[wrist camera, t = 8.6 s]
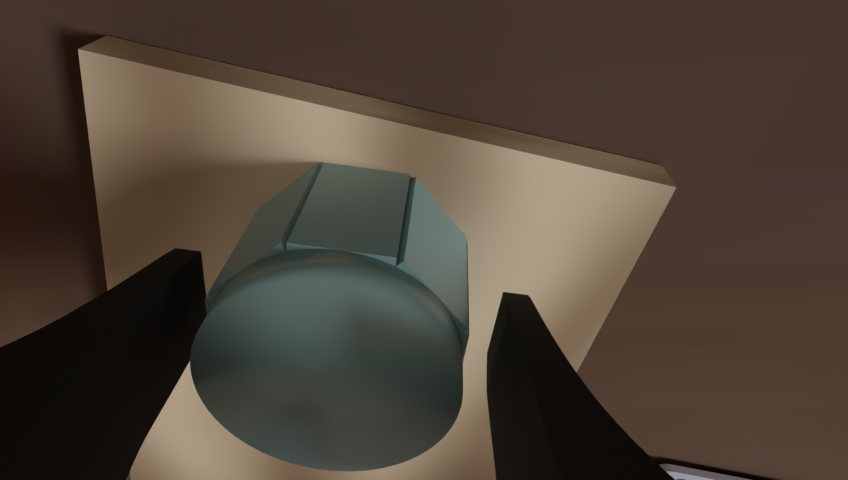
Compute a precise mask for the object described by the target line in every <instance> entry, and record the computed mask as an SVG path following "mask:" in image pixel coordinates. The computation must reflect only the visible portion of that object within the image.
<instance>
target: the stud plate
mask: <svg viewBox="0 0 848 480" xmlns="http://www.w3.org/2000/svg"><path fill="white" fill-rule="evenodd" d="M78 54H79V62H80V70H81V78H82V87H83V95H84V103H85V111H86V119H87V127H88V136H89V144H90V152H91V160H92V168H93V176H94V185H95V193H96V201H97V209H98V217H99V225H100V233H101V242H102V250H103V258H104V266H105V274H106V282H107V291H108V290H110V289H111V288H113V287H115V286H116V285H118V284H119V283H121V282H122V281H124V280H126V279H127V278H129V277H130V276H132V275H133V274H135V273H137V272H138V271H140V270H141V269H143V268H144V267H146V266H147V265H149V264H150V263H152V262H153V261H155V260H157V259H158V258H160V257H161V256H163V255H164V254H166V253H168V252H169V251H171V250H173V249H174V248H179V249H187V250H194V251H201V255H202V264H203V273H204V281H205V290H206V297H207V295H208V292H209V290H210V289H211V287H212V285H213V284H214V282H215V280H216V279H217V277H218V275H219V274H220V272H221V270H222V269H223V267H224V265H225V264H226V262H227V260H228V258H229V257H230V255H231V253H232V252H233V250H234V248H235V247H236V245H237V243H238V242H239V240H240V238H241V237H242V235H243V233H244V232H245V230H246V228H247V227H248V225H249V223H250V222H251V220H252V218H253V217H254V215H255V213H256V211H257V210H258V208H259V207H260V206H262V205H263V204H264V203H266V202H267V201H268V200H270V199H271V198H272V197H274V196H275V195H277V194H278V193H279V192H281V191H282V190H283V189H285V188H286V187H287V186H289V185H290V184H291V183H293V182H294V181H295V180H297V179H298V178H299V177H301V176H302V175H303V174H305V173H306V172H307V171H309V170H310V169H311V168H313V167H314V166H315V165H317V164H318V165H319V166H320V167H321V168H322V166H323V163H324V162H326V163H333V164H340V165H347V166H354V167H362V168H369V169H376V170H383V171H390V172H397V173H404V174H410V180H409V182H410V181H412V180H413V179H415V178H417V179H418V180H419V181H420V183H421V184H422V185H423V186H424V187H425V188H426V190H427V191H428V192H429V193H430V194H431V196H432V197H433V198H434V199H435V200H436V201H437V203H438V204H439V205H440V206H441V207H442V208H443V210H444V211H445V212H446V213H447V214H448V216H449V217H450V218H451V219H452V220H453V221H454V223H455V224H456V225H457V226H458V227H459V228H460V230H461V231H462V232H463V233H464V234H465V235H466V241H468V284H469V334H470V335H469V339H468V343H467V347H466V352H465V356H464V360H463V398H462V405H461V409H460V411H459V414H458V417H457V419H456V421H455V423H454V424H453V426H452V428H451V429H450V430H449V432H448V433H447V434H446V435H445V436H444V438H442V439H441V440H440V441H439V442H438V443H437V444H436V445H435V446H433V447H432V448H430V449H429V450H427V451H426V452H424V453H423V454H421V455H419V456H417V457H415V458H413V459H411V460H408V461H405V462H403V463H400V464H397V465H393V466H389V467H386V468H380V469H374V470H367V471H328V470H320V469H314V468H308V467H304V466H300V465H295V464H292V463H289V462H286V461H282V460H279V459H277V458H274V457H272V456H269V455H267V454H265V453H262V452H261V451H259V450H257V449H255V448H253V447H251V446H249V445H248V444H246V443H244V442H243V441H241V440H240V439H238V438H237V437H235V436H234V435H233V434H232V433H230V432H229V431H228V430H227V429H225V428H224V427H223V426H222V425H221V424H220V423H219V422H218V421H217V420H216V419H215V418H214V417H213V416H212V414H211V413H210V412H209V411H208V409H207V408H206V407H205V405H204V404H203V402H202V400H201V399H200V397H199V395H198V393H197V391H196V388H195V386H194V383H193V379H192V375H191V370H190V361H189V363H188V365H187V367H186V369H185V370H184V372H183V374H182V376H181V377H180V379H179V381H178V383H177V384H176V386H175V388H174V389H173V391H172V393H171V395H170V396H169V398H168V400H167V402H166V403H165V405H164V407H163V408H162V410H161V412H160V414H159V415H158V417H157V419H156V420H155V422H154V424H153V426H152V427H151V429H150V431H149V433H148V434H147V436H146V438H145V440H144V442H143V444H142V446H141V448H140V450H139V452H138V454H137V456H136V458H135V461H134V463H133V465H132V467H131V470H130V478H131V480H496V473H495V464H494V455H493V446H492V437H491V429H490V420H489V410H488V401H487V351H488V347H489V344H490V340H491V336H492V332H493V328H494V325H495V321H496V317H497V313H498V309H499V306H500V302H501V298H502V294H503V292H509V293H516V294H524V295H529V297H530V298H531V299H532V301H533V303H534V305H535V306H536V308H537V310H538V312H539V314H540V315H541V317H542V319H543V321H544V322H545V324H546V326H547V328H548V329H549V331H550V333H551V334H552V336H553V338H554V339H555V341H556V342H557V344H558V346H559V347H560V349H561V350H562V352H563V353H564V355H565V356H566V358H567V359H568V361H569V362H570V364H571V365H572V367H573V368H574V370H575V371H576V372H577V371H578V369H579V367H580V365H581V363H582V361H583V360H584V358H585V356H586V354H587V352H588V350H589V348H590V347H591V345H592V343H593V341H594V339H595V337H596V335H597V334H598V332H599V330H600V328H601V326H602V324H603V322H604V321H605V319H606V317H607V315H608V313H609V311H610V310H611V308H612V306H613V304H614V302H615V300H616V298H617V297H618V295H619V293H620V291H621V289H622V287H623V285H624V284H625V282H626V280H627V278H628V276H629V274H630V273H631V271H632V269H633V267H634V265H635V263H636V261H637V260H638V258H639V256H640V254H641V252H642V250H643V248H644V247H645V245H646V243H647V241H648V239H649V237H650V236H651V234H652V232H653V230H654V228H655V226H656V224H657V223H658V221H659V219H660V217H661V215H662V213H663V211H664V210H665V208H666V206H667V204H668V202H669V200H670V199H671V197H672V195H673V193H674V191H675V189H676V186H675V184H674V183H673V181H672V180H671V179H670V177H669V176H668V174H667V173H666V171H665V170H664V168H663V167H662V165H658V164H654V163H650V162H645V161H641V160H637V159H632V158H628V157H624V156H620V155H615V154H611V153H607V152H602V151H598V150H594V149H590V148H585V147H581V146H577V145H573V144H568V143H564V142H560V141H555V140H551V139H547V138H543V137H538V136H534V135H530V134H526V133H521V132H517V131H513V130H508V129H504V128H500V127H496V126H491V125H487V124H483V123H478V122H474V121H470V120H466V119H461V118H457V117H453V116H449V115H444V114H440V113H436V112H431V111H427V110H423V109H419V108H414V107H410V106H406V105H401V104H397V103H393V102H389V101H384V100H380V99H376V98H372V97H367V96H363V95H359V94H354V93H350V92H346V91H342V90H337V89H333V88H329V87H324V86H320V85H316V84H312V83H307V82H303V81H299V80H295V79H290V78H286V77H282V76H277V75H273V74H269V73H265V72H260V71H256V70H252V69H248V68H243V67H239V66H235V65H230V64H226V63H222V62H218V61H213V60H209V59H205V58H200V57H196V56H192V55H188V54H183V53H179V52H175V51H171V50H166V49H162V48H158V47H153V46H149V45H145V44H141V43H136V42H132V41H128V40H123V39H119V38H115V37H111V36H105V37H102V38H100V39H98V40H96V41H94V42H92V43H90V44H88V45H85V46H83V47H81V48H79V49H78Z"/></svg>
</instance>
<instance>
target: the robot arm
mask: <svg viewBox="0 0 848 480" xmlns="http://www.w3.org/2000/svg"><path fill="white" fill-rule="evenodd" d="M205 298H206V290H205V281H204V273H203V264H202V255H201V251H194V250H187V249H179V248H174V249H173V250H171V251H169V252H168V253H166V254H164V255H163V256H161V257H160V258H158V259H157V260H155V261H153V262H152V263H150V264H149V265H147V266H146V267H144V268H143V269H141V270H140V271H138V272H137V273H135V274H133V275H132V276H130V277H129V278H127V279H126V280H124V281H122V282H121V283H119V284H118V285H116V286H115V287H113V288H111V289H110V290H108V291H107V292H105V293H103V294H102V295H100V296H98V297H97V298H95V299H93V300H91V301H90V302H88V303H86V304H84V305H83V306H81V307H79V308H77V309H76V310H74V311H72V312H71V313H69V314H67V315H65V316H64V317H62V318H60V319H58V320H56V321H54V322H52V323H51V324H49V325H47V326H45V327H43V328H41V329H39V330H37V331H35V332H33V333H31V334H29V335H26V336H24V337H22V338H20V339H18V340H16V341H14V342H12V343H9V344H7V345H5V346H3V347H1V348H0V480H126V479H127V476H128V474H129V472H130V470H131V467H132V465H133V463H134V461H135V458H136V456H137V454H138V452H139V450H140V448H141V446H142V444H143V442H144V440H145V438H146V436H147V434H148V433H149V431H150V429H151V427H152V426H153V424H154V422H155V420H156V419H157V417H158V415H159V414H160V412H161V410H162V408H163V407H164V405H165V403H166V402H167V400H168V398H169V396H170V395H171V393H172V391H173V389H174V388H175V386H176V384H177V383H178V381H179V379H180V377H181V376H182V374H183V372H184V370H185V369H186V367H187V365H188V363H189V361H190V354H191V347H192V344H193V341H194V338H195V335H196V333H197V331H198V330H199V328H200V326H201V324H202V323H203V321H204V319H205V317H206V316H207V314H206V305H205ZM487 401H488V410H489V420H490V429H491V437H492V446H493V455H494V464H495V473H496V480H751V479H746V478H740V477H735V476H730V475H725V474H719V473H714V472H709V471H704V470H698V469H693V468H688V467H683V466H678V465H672V464H659V465H658V464H657V463H656V462H655V461H654V460H653V459H652V458H651V457H650V456H649V455H648V454H647V453H646V452H645V451H644V450H643V449H641V448H640V447H639V446H638V445H637V444H636V443H635V442H634V441H633V440H632V439H631V438H630V437H629V436H628V435H627V433H626V432H625V431H624V430H623V429H622V428H621V427H620V426H619V425H618V424H617V423H616V422H615V420H614V419H613V418H612V417H611V416H610V415H609V414H608V412H607V411H606V410H605V409H604V408H603V407H602V406H601V404H600V403H599V402H598V401H597V399H596V398H595V397H594V396H593V394H592V393H591V392H590V390H589V389H588V388H587V386H586V385H585V384H584V382H583V381H582V380H581V378H580V377H579V376H578V374H577V373H576V371H575V370H574V368H573V367H572V365H571V364H570V362H569V361H568V359H567V358H566V356H565V355H564V353H563V352H562V350H561V349H560V347H559V346H558V344H557V342H556V341H555V339H554V338H553V336H552V334H551V333H550V331H549V329H548V328H547V326H546V324H545V322H544V321H543V319H542V317H541V315H540V314H539V312H538V310H537V308H536V306H535V305H534V303H533V301H532V299H531V298H530V297H529V295H524V294H516V293H509V292H503V294H502V298H501V302H500V306H499V309H498V313H497V317H496V321H495V325H494V328H493V332H492V336H491V340H490V344H489V347H488V351H487Z"/></svg>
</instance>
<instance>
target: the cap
mask: <svg viewBox="0 0 848 480" xmlns="http://www.w3.org/2000/svg"><path fill="white" fill-rule="evenodd" d="M409 180H410V174H404V173H397V172H390V171H383V170H376V169H369V168H362V167H354V166H347V165H340V164H333V163H326V162H324V163H323V166H322V168H321V167H320V166H319V165H318V164H317V165H315V166H314V167H313V168H311V169H310V170H309V171H307V172H306V173H305V174H303V175H302V176H301V177H299V178H298V179H297V180H295V181H294V182H293V183H291V184H290V185H289V186H287V187H286V188H285V189H283V190H282V191H281V192H279V193H278V194H277V195H275V196H274V197H272V198H271V199H270V200H268V201H267V202H266V203H264V204H263V205H262V206H260V207H259V208H258V210H257V211H256V213H255V215H254V217H253V218H252V220H251V222H250V223H249V225H248V227H247V228H246V230H245V232H244V233H243V235H242V237H241V238H240V240H239V242H238V243H237V245H236V247H235V248H234V250H233V252H232V253H231V255H230V257H229V258H228V260H227V262H226V264H225V265H224V267H223V269H222V270H221V272H220V274H219V275H218V277H217V279H216V280H215V282H214V284H213V285H212V287H211V289H210V290H209V292H208V295H207V297H206V298H205V305H206V314H207V316H206V317H205V319H204V321H203V323H202V324H201V326H200V328H199V330H198V331H197V333H196V335H195V338H194V341H193V344H192V347H191V354H190V370H191V375H192V379H193V383H194V386H195V388H196V391H197V393H198V395H199V397H200V399H201V400H202V402H203V404H204V405H205V407H206V408H207V409H208V411H209V412H210V413H211V414H212V416H213V417H214V418H215V419H216V420H217V421H218V422H219V423H220V424H221V425H222V426H223V427H224V428H225V429H227V430H228V431H229V432H230V433H232V434H233V435H234V436H235V437H237V438H238V439H240V440H241V441H243V442H244V443H246V444H248V445H249V446H251V447H253V448H255V449H257V450H259V451H261V452H262V453H265V454H267V455H269V456H272V457H274V458H277V459H279V460H282V461H286V462H289V463H292V464H295V465H300V466H304V467H308V468H314V469H320V470H328V471H367V470H374V469H380V468H386V467H389V466H393V465H397V464H400V463H403V462H405V461H408V460H411V459H413V458H415V457H417V456H419V455H421V454H423V453H424V452H426V451H427V450H429V449H430V448H432V447H433V446H435V445H436V444H437V443H438V442H439V441H440V440H441V439H442V438H444V436H445V435H446V434H447V433H448V432H449V430H450V429H451V428H452V426H453V424H454V423H455V421H456V419H457V417H458V414H459V411H460V409H461V405H462V398H463V360H464V356H465V352H466V347H467V343H468V339H469V335H470V334H469V284H468V241H466V235H465V234H464V233H463V232H462V231H461V230H460V228H459V227H458V226H457V225H456V224H455V223H454V221H453V220H452V219H451V218H450V217H449V216H448V214H447V213H446V212H445V211H444V210H443V208H442V207H441V206H440V205H439V204H438V203H437V201H436V200H435V199H434V198H433V197H432V196H431V194H430V193H429V192H428V191H427V190H426V188H425V187H424V186H423V185H422V184H421V183H420V181H419V180H418V179H417V178H415V179H413V180H412V181H410V182H409Z"/></svg>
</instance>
